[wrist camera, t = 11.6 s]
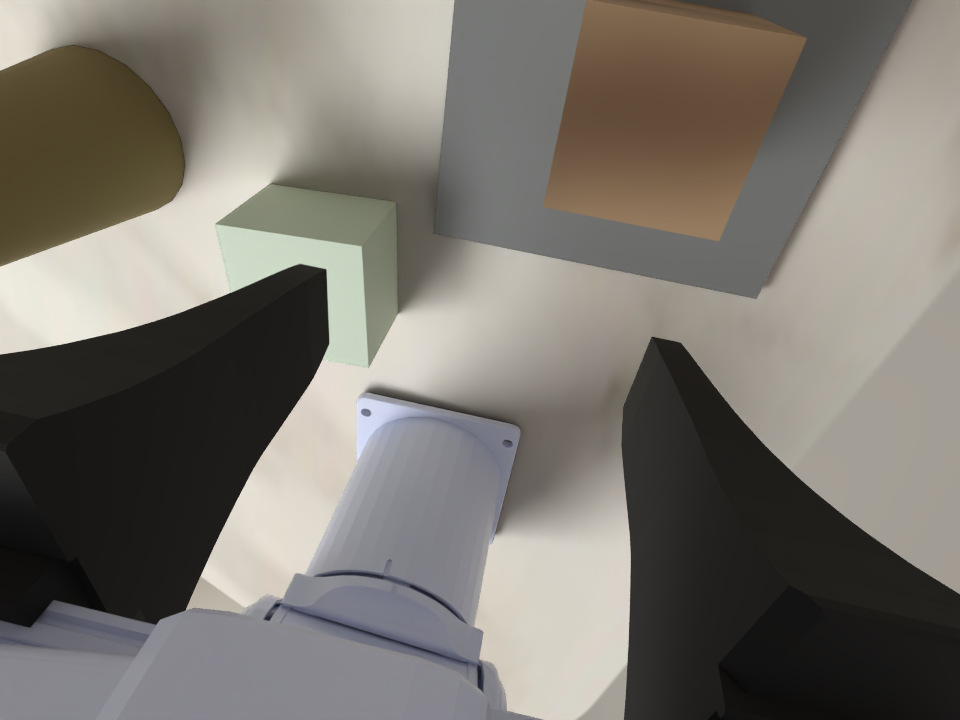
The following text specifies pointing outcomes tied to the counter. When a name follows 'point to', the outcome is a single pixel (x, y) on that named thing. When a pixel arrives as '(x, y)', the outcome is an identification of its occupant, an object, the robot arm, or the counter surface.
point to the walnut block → (667, 112)
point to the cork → (79, 149)
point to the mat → (537, 116)
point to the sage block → (322, 258)
